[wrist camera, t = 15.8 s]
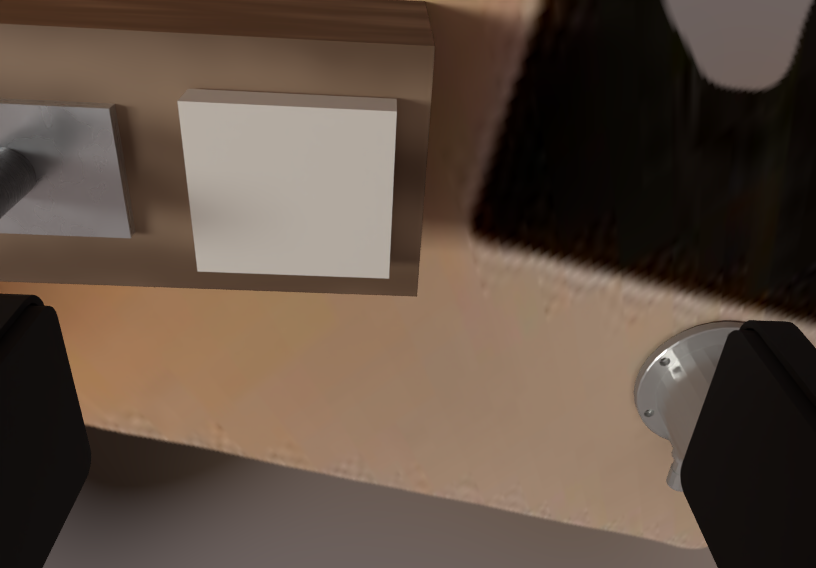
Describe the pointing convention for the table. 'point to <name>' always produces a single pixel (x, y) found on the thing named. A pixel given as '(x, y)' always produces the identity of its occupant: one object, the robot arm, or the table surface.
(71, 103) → the grey plate with peg
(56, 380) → the robot arm
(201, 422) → the table surface
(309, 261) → the tile
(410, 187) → the walnut block
